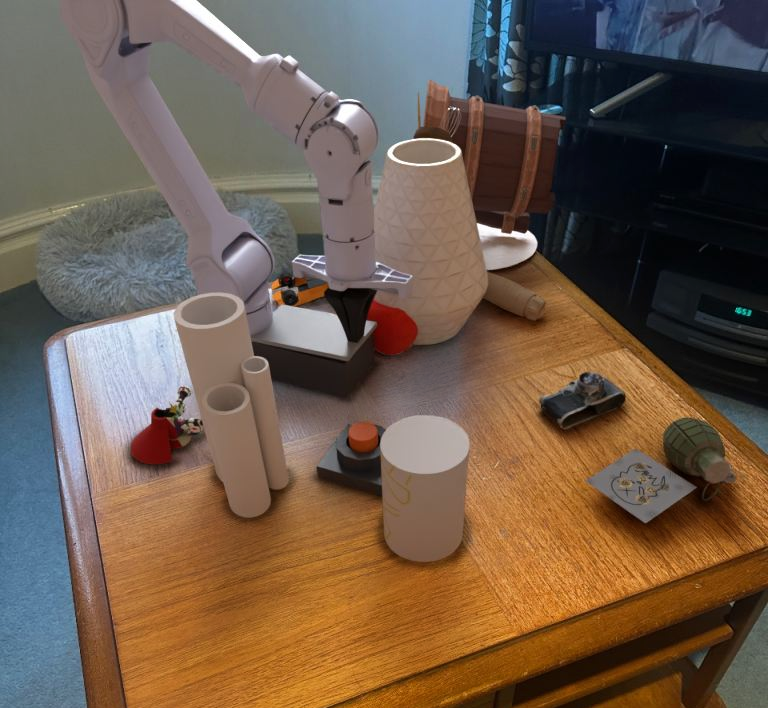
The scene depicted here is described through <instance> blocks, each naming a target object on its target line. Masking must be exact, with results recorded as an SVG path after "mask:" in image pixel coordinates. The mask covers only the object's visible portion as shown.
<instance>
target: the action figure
mask: <svg viewBox="0 0 768 708" xmlns="http://www.w3.org/2000/svg"><path fill="white" fill-rule="evenodd" d="M176 393H177V394H178V395H179V396H178V398H177V399H176V400H175V402H174V404H172V403H171V402H169V401H168V403H169V405H170V407H166V408H165V409H162V408H159V407H156V408H154V409H153V410H152V411H151V412H150V413H151V415H150V423H149V425H147V426H146V427H145V428H144V429H143V430H142V431H140V432H139V433H138V434H137V435H136V436H135V437H134V439H133V440H132V442H131V443H130V452H131V454H132V457H133V458H134V459H135V460H137V461H138V462H141V463H143V464H146V465H160V464H168V463H171V462H173V455H172V450H176V449H180V448H183V447H185V446H186V445H188V444H189V443H190V442H191V440H192V436H199V435H200V434H201V433H202V432H203V431H204V426H203V422H202V419H200V418H195V417H190V418H189V419H185V418H182V416H183V414H184V413H186V410H187V408H186V403H185V402H184V401H185V400H186V399H188V398H189V397H191V395H192V391H191V389H190V388H189V387H188V386H180V387H179V388H178V390H177V392H176Z"/></svg>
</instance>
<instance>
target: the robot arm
mask: <svg viewBox="0 0 768 708" xmlns="http://www.w3.org/2000/svg"><path fill="white" fill-rule="evenodd" d="M59 9H60V10H59V17H60V19H61V20H62V22H63V23H64V26H65V27H66V29H67V30H68V32H69V33H70V35H71V36H72V38H73V40H74V41H75V44H76V45H77V46H78V48H79V50H80V52H81V54H82V58H83V62H84V64H85V67H86V70H87V73H88V76H89V79H90V81H91V83H92V84H93V86H94V88H95V90H96V91H97V93H98V94H99V96H100V98H101V99H102V100H103V102H104V104H105V106H106V107H107V109H108V111H109V112H110V114H111V115H112V117H113V118H114V120H115V121H116V123H117V125H118V126H119V128H120V130H121V131H122V133H123V135H124V136H125V137H126V139H127V141H128V143H129V144H130V145H131V147H132V149H133V150H134V152H135V153H136V155H137V156H138V159H140V161H141V163H142V164H143V167H144V168H145V170H146V171H147V173H148V174H149V176H150V177H151V179H152V181H153V183H154V184H155V186H156V187H157V189H158V190H159V192H160V193H161V196H162V197H163V198H164V200H165V202H166V203H167V205H168V207H169V208H170V210H171V211H172V213H173V214H174V216H175V217H176V219H177V221H178V223H179V224H180V226H181V227H182V230H184V233H186V235H187V238H188V240H187V249H186V257H185V265H186V267H187V269H188V270H189V271H190V274H191V275H192V277H193V280H194V281H193V282H194V285H195V290H196V293H197V295H200V294H206V293H218V292H222V293H228V294H232V295H235V296H237V297H239V298H240V299H241V300H242V301H243V303H244V306H245V311H246V316H247V322H248V327H249V332H250V336H251V335H254V334H257V333H260V332H262V331H264V330H265V329H267V328H268V327H269V326H270V325H271V324H272V322H273V314H272V313H273V309H272V302H271V297H270V290H269V289H270V283H269V278H270V277H271V276H272V275H273V273H274V272H275V267H276V260H275V256H274V253H273V251H272V249H271V247H270V246H269V244H268V243H267V242H266V241H265V240H263V239H262V238H261V237H260V236H259V235H258V234H257V233H256V232H255V230H254V229H253V228H252V226H251V225H250V222H249V221H248V220H247V219H245V218H243V217H240V216H237V215H234V214H232V213H230V212H229V211H228V209H227V208H226V206H225V205H224V203H223V201H222V199H221V198H220V196H219V194H218V193H217V190H216V189H215V186H214V185H213V184H212V182H211V180H210V178H209V177H208V175H207V173H206V172H205V170H204V168H203V167H202V165H201V163H200V161H199V159H198V158H197V156H196V154H195V152H194V150H193V149H192V147H191V145H190V144H189V142H188V140H187V138H186V137H185V135H184V133H183V132H182V130H181V128H180V126H179V125H178V123H177V121H176V120H175V118H174V116H173V115H172V113H171V111H170V110H169V107H168V106H167V105H166V103H165V101H164V99H163V97H162V96H161V94H160V92H159V91H158V89H157V87H156V85H155V84H154V82H153V80H152V79H151V77H150V75H149V70H150V69H149V68H150V61H151V57H152V51H153V46H154V45H155V43H160V42H161V43H162V42H163V43H164V42H171V43H173V45H176V46H177V47H178V48H179V49H180V48H181V49H182V50H183V51H185V52H186V53H188V54H189V55H191V56H192V57H194V58H195V59H197V60H198V61H199V62H201V63H203V64H204V65H206V66H207V67H209V68H210V69H211V70H213V71H215V72H216V73H218V75H219V74H220V75H221V76H222V77H224V78H225V79H227V80H228V81H230V82H231V83H232V84H234V85H236V86H237V87H239V88H240V89H241V90H242V92H243V96H244V100H245V103H246V107H247V109H248V110H249V111H250V112H251V113H253V114H254V115H256V116H257V117H258V118H259V119H261V120H262V121H263V122H265V123H266V124H268V126H270V127H271V128H273V129H274V130H276V132H278V133H279V134H281V135H282V136H283V137H285V138H286V139H287V140H289V141H290V142H291V143H293V144H294V145H296V146H297V148H299V149H300V150H301V151H302V153H303V157H304V160H305V163H306V165H307V167H308V168H309V170H310V171H311V172H312V174H313V175H314V176H315V179H316V182H317V193H318V201H319V213H320V221H321V232H322V244H323V254H324V255H308V254H301V253H299V254H298V255H297V256H296V257H295V258H294V259H293V260H291V267H292V268H291V269H292V277H293V278H294V277H298V278H302V277H303V276H308V277H313V278H318V279H322V280H324V281H326V282H328V288H327V289H326V290H325V291H324V297H325V298H324V300H325V301H326V302H327V303H328V304H329V306H330V307H331V309H332V310H333V311H334V314H336V315H337V316H338V318H339V320H340V322H341V325H342V327H343V329H344V332H345V335H346V338H347V340H348V341H349V342H354V343H358V341H359V340H360V339H361V338H362V337H363V335H364V331H365V325H366V320H367V316H368V313H369V309H370V307H371V304H372V301H373V299H374V297H375V295H376V293H377V291H378V290H379V291H384V292H389V293H394V294H398V297H399V298H402V299H407V298H408V297H409V296H410V294H411V293H412V292H413V276H412V275H408V274H404V273H401V272H398V271H396V270H394V269H392V268H389V267H387V266H385V265H383V264H380V263H378V262H376V254H375V232H374V191H373V190H374V189H373V176H372V173H373V172H372V161H371V160H369V159H370V157H372V155H373V153H374V152H375V150H376V149H377V146H378V142H379V128H378V125H377V121H376V119H375V118H374V116H373V114H372V113H371V112H370V111H369V110H368V109H367V108H366V107H365V105H364V103H362V102H361V101H359V100H356V99H351V98H346V99H340V96H339V95H338V94H337V93H335V92H334V91H330V92H328V91H327V90H326V89H325V88H323V87H322V86H321V85H319V84H318V83H317V82H315V81H314V80H313V79H311V78H310V77H309V76H307V74H306V73H304V72H303V71H301V70H300V69H299V67H300V63H299V61H298V60H297V59H295V58H293V57H292V56H291V55H287V56H285V57H283V56H282V55H281V54H279V53H272V54H268V55H260V54H259V53H258V52H257V51H255V50H254V49H253V48H252V47H250V45H248V44H247V43H246V42H245V41H244V40H242V39H241V38H240V37H239V36H238V35H237V34H236V33H235V32H234V31H232V30H231V29H230V28H229V27H228V26H227V25H225V23H223V22H222V21H221V20H219V18H218V17H216V16H215V15H214V14H213V13H211V12H210V11H209V9H207V8H206V7H205V6H203V4H202V3H200V2H199V1H198V0H60V7H59Z"/></svg>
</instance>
